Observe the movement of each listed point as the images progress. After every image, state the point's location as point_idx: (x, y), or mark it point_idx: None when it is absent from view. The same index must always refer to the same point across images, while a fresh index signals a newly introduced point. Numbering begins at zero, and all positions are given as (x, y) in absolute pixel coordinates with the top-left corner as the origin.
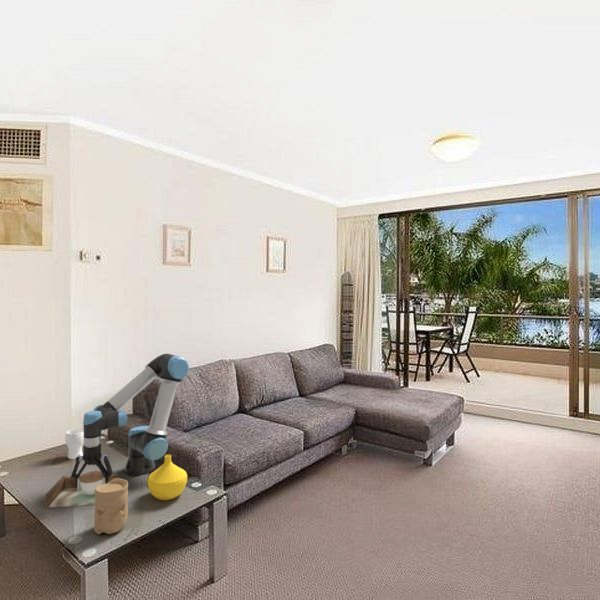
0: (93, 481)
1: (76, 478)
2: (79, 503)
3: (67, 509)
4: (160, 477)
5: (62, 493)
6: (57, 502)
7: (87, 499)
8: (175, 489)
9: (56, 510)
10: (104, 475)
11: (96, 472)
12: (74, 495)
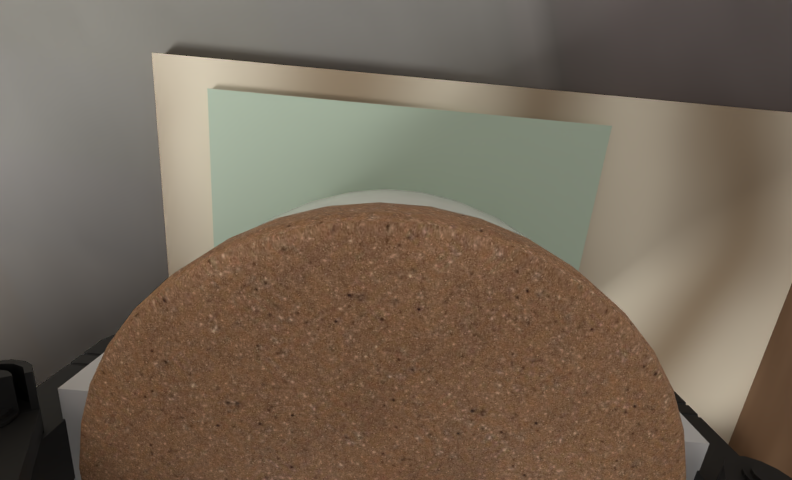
0: (266, 225)
1: (744, 462)
2: (495, 112)
3: (616, 11)
4: None
5: (723, 394)
6: (762, 191)
7: (417, 185)
8: None
9: (748, 10)
10: (14, 442)
11: None
12: None
